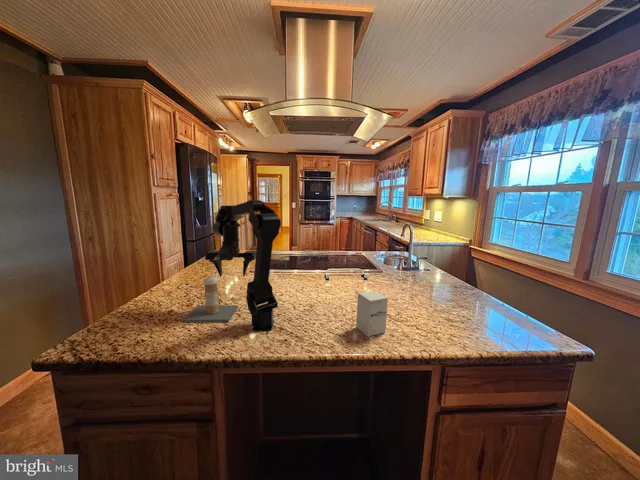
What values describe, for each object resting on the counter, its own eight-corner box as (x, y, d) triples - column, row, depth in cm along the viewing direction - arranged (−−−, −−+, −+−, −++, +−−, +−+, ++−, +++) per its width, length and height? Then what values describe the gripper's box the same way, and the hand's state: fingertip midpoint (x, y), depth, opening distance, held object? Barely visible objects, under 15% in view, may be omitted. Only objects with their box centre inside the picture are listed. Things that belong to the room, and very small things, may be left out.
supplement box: (367, 337, 80) (369, 300, 78) (355, 327, 87) (357, 292, 85) (386, 333, 83) (388, 297, 81) (373, 323, 90) (374, 289, 88)
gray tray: (238, 307, 100) (237, 305, 100) (228, 322, 89) (228, 319, 88) (197, 307, 100) (197, 305, 100) (182, 322, 88) (182, 319, 88)
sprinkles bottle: (208, 309, 96) (206, 276, 94) (220, 309, 96) (218, 276, 94) (203, 315, 92) (201, 280, 89) (216, 314, 92) (214, 279, 90)
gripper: (197, 240, 89) (200, 282, 91) (250, 241, 89) (251, 282, 92) (209, 236, 99) (211, 273, 102) (256, 236, 100) (257, 274, 103)
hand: (232, 276), depth 99 cm, fingers open, 9 cm apart
